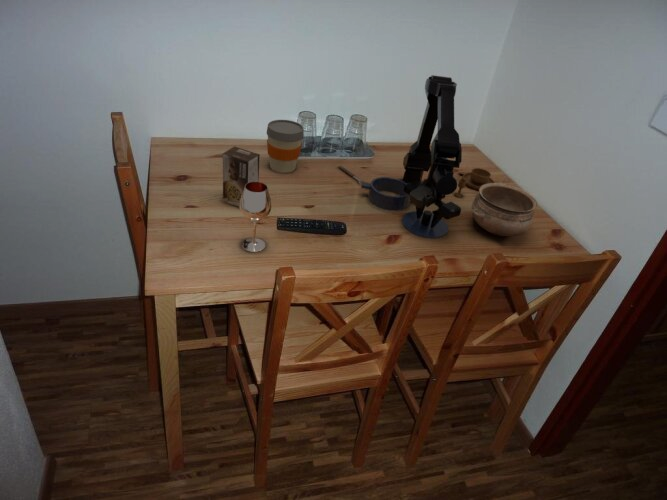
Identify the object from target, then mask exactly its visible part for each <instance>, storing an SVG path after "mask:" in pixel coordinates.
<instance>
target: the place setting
mask: <svg viewBox="0 0 667 500" xmlns="http://www.w3.org/2000/svg"><path fill="white" fill-rule="evenodd" d="M458 174H459V175H462V178H459V180H458V182H457V188H458V190H457V192H455V193H454V196H455V197H456V198H463V194H462V190H463V189H464V188H465V187H466V186H467V187H469V188H470V189H473V190H477V191H479V190H480V187H481V186H483V185H485V184H489V183H496V182H495V180H494V179H493V178H491V176H492V174H491V173H490V171H488V170H486V169H484V168H480V167H475V168H472V169H471V172H465V171H459V172H458ZM478 194H479V193H476V196H477V195H478Z"/></svg>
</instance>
